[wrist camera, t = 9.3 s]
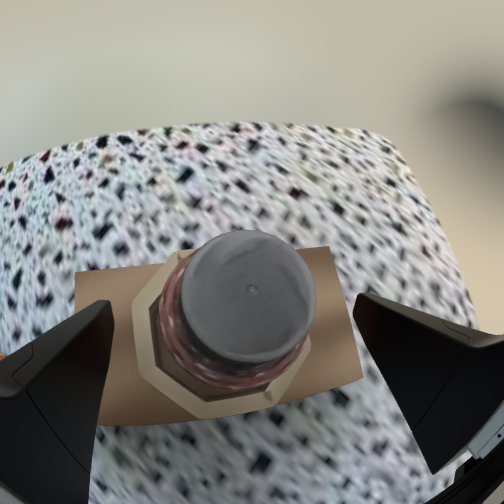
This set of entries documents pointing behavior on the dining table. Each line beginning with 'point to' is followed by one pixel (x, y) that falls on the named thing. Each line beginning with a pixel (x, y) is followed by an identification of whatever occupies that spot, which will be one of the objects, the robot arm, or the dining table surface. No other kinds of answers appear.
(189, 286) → the supplement bottle
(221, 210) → the dining table surface
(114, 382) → the collar board
